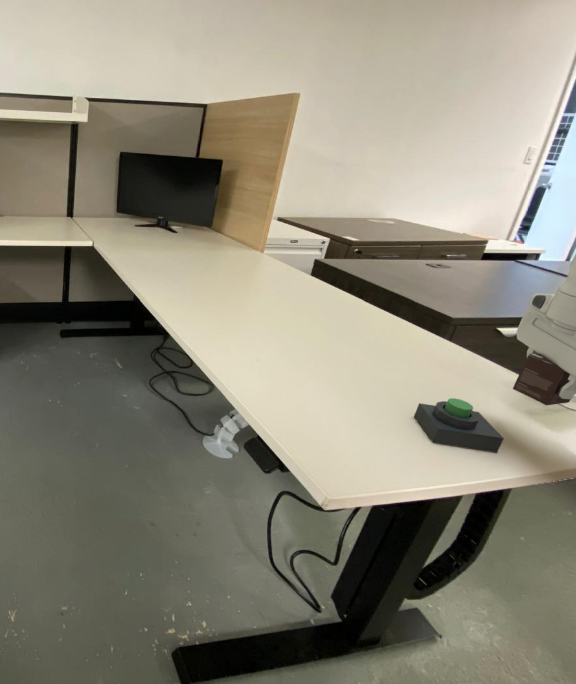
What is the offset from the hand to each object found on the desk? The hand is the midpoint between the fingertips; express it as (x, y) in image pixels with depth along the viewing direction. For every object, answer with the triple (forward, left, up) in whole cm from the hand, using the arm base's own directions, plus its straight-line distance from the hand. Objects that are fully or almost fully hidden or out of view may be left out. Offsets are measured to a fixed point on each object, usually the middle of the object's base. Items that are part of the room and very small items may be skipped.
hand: (545, 384), depth 84 cm
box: (0, 0, -3) cm, 3 cm away
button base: (+11, 0, -13) cm, 17 cm away
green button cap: (+12, 0, -8) cm, 15 cm away
